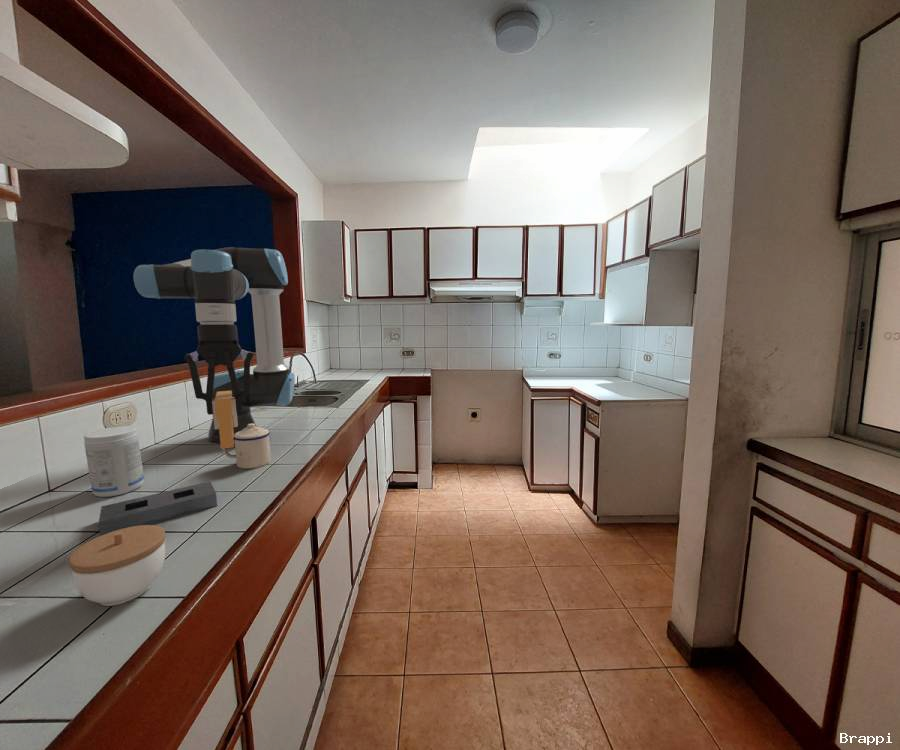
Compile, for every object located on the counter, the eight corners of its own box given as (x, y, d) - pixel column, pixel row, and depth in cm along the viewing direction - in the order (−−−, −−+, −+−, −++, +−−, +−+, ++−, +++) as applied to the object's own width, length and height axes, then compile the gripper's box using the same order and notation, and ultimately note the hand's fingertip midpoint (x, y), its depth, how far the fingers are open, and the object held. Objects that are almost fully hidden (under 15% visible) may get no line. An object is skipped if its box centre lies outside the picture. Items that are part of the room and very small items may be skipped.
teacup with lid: (272, 456, 114) (270, 418, 112) (269, 466, 105) (267, 426, 104) (227, 461, 110) (224, 422, 108) (220, 472, 101) (217, 431, 99)
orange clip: (221, 436, 90) (217, 391, 89) (235, 434, 92) (231, 390, 90) (219, 449, 81) (214, 399, 80) (235, 446, 83) (230, 398, 81)
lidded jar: (107, 573, 61) (100, 519, 59) (182, 563, 63) (176, 511, 62) (55, 625, 50) (44, 561, 49) (147, 611, 53) (139, 549, 51)
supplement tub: (136, 478, 98) (129, 423, 96) (151, 486, 93) (144, 429, 91) (86, 492, 90) (77, 432, 88) (99, 502, 85) (90, 439, 83)
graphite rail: (103, 520, 77) (101, 506, 77) (211, 493, 89) (210, 481, 89) (100, 537, 71) (98, 522, 70) (217, 505, 83) (216, 492, 82)
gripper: (169, 323, 75) (181, 436, 79) (258, 323, 83) (266, 425, 87) (175, 323, 82) (185, 427, 85) (257, 323, 90) (264, 418, 93)
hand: (226, 426), depth 86 cm, fingers closed on orange clip, 3 cm apart
